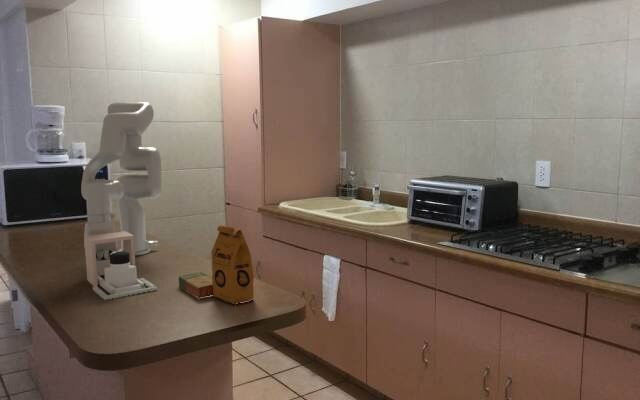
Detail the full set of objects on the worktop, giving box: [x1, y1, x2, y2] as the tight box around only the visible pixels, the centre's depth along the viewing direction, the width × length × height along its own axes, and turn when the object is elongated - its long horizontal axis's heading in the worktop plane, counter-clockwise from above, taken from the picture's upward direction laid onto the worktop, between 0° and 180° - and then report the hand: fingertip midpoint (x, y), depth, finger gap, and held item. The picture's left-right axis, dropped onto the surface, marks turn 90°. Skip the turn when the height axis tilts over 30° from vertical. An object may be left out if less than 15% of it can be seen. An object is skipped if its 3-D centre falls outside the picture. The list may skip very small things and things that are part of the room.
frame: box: [92, 277, 158, 301], centre depth 179 cm, size 16×13×1 cm
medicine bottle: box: [104, 251, 138, 289], centre depth 180 cm, size 7×7×12 cm
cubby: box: [83, 231, 136, 287], centre depth 189 cm, size 14×9×15 cm, turn 126°
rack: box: [96, 258, 145, 295], centre depth 186 cm, size 10×26×5 cm, turn 36°
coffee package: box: [210, 225, 255, 305], centre depth 167 cm, size 10×12×22 cm
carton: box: [178, 271, 213, 298], centre depth 177 cm, size 8×16×4 cm, turn 35°
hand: (102, 269), depth 198 cm, fingers closed
